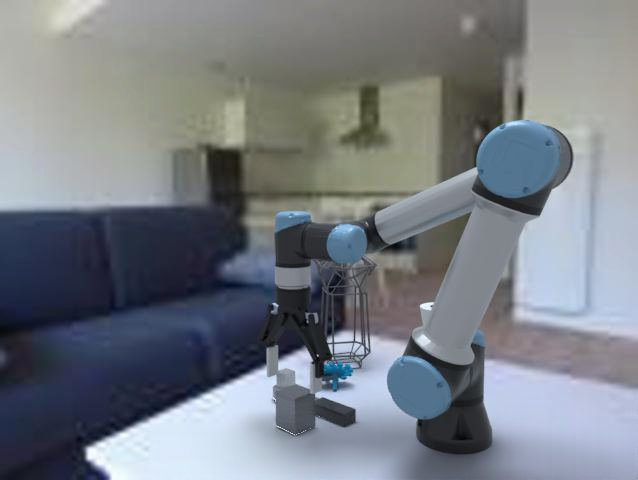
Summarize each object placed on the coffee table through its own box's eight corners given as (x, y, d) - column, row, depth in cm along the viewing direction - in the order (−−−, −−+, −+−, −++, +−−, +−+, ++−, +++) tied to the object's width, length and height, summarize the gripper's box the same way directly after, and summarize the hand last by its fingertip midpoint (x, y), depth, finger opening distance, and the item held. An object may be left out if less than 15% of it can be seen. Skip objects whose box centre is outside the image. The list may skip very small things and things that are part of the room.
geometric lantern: (313, 358, 168) (311, 241, 164) (364, 355, 171) (364, 239, 167) (323, 377, 153) (321, 247, 149) (379, 372, 156) (379, 245, 152)
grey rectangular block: (315, 426, 123) (315, 390, 122) (295, 436, 118) (294, 398, 117) (296, 418, 127) (295, 384, 126) (276, 427, 122) (275, 391, 122)
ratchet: (359, 419, 126) (359, 388, 125) (339, 428, 121) (339, 397, 121) (287, 392, 142) (286, 365, 142) (267, 399, 138) (266, 371, 137)
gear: (355, 374, 150) (350, 357, 142) (357, 395, 146) (352, 379, 138) (313, 379, 151) (306, 362, 143) (314, 400, 147) (307, 384, 139)
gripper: (349, 291, 113) (349, 394, 116) (268, 275, 130) (268, 365, 133) (323, 297, 108) (323, 405, 110) (241, 279, 125) (243, 373, 128)
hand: (293, 383), depth 122 cm, fingers open, 13 cm apart
